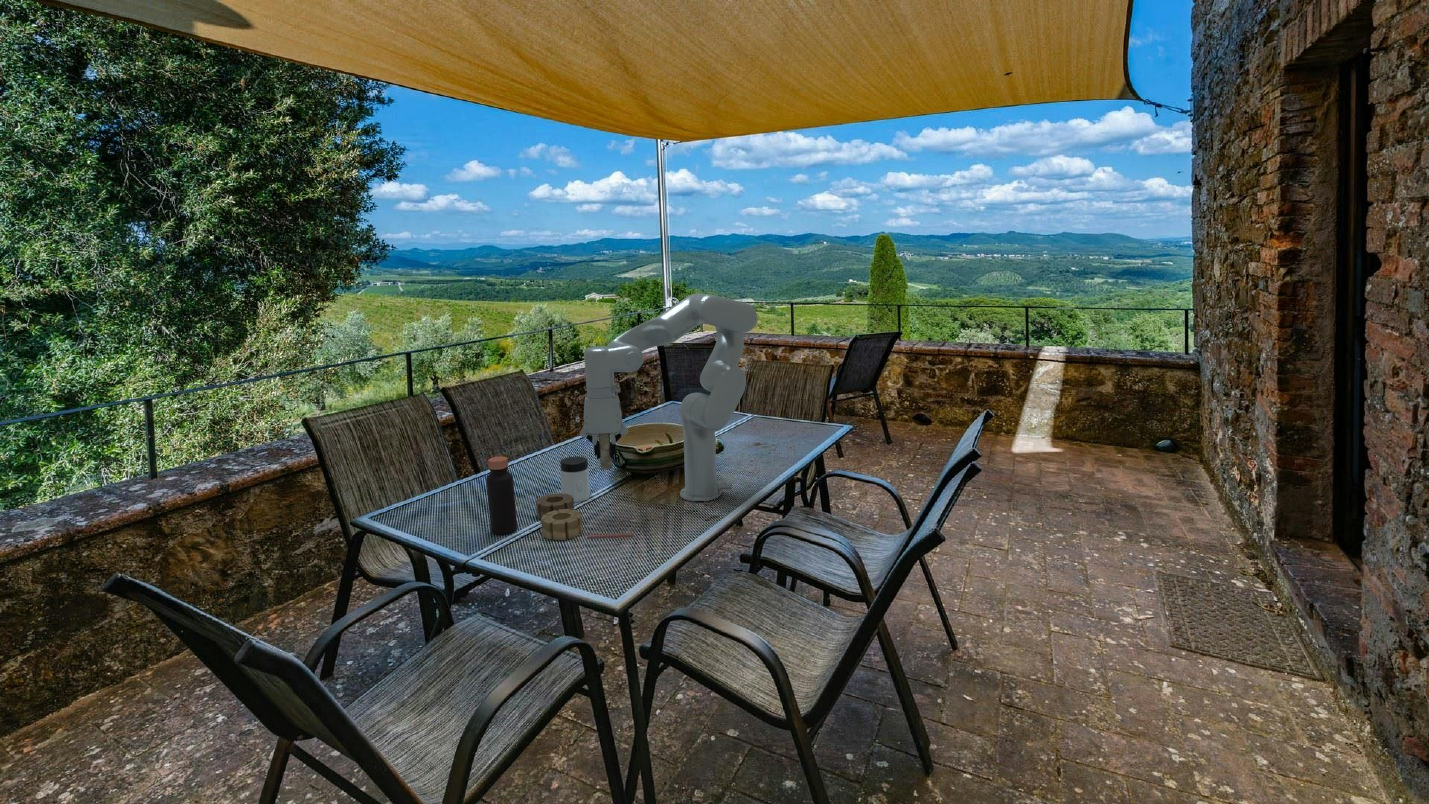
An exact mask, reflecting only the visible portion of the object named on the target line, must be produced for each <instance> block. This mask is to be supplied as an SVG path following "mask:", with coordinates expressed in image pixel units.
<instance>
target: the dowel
mask: <svg viewBox="0 0 1429 804" xmlns="http://www.w3.org/2000/svg"><path fill="white" fill-rule="evenodd" d="M598 441H599V451H600V459H599V462H600V469H601V470H604V471H606V470H612V469H613V458H611V454H610V444H611V437H610V434H598Z"/></svg>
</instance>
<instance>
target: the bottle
mask: <svg viewBox="0 0 1429 804" xmlns="http://www.w3.org/2000/svg"><path fill="white" fill-rule="evenodd" d="M487 463H488V470H489V471H490V473H489V474H488V476H486V478H485V483H486V492H487V503H488V514H489V524H490V532H491V533H492V534H493V533H494V534H493V535H496V534H497V536H503V535H502V534H504V535H508V533H509V534H512V533H514V532H515V531H516V530H517V529H518V520H517V518H518V517H517V509H516V508H517V507H516V499H515V498H516V497H515V487H514V485H515V484H514V476H513V474H512V473H511V472H510V471H508V469H509V459H508V457H507V456H494V457H490V458H488V459H487Z"/></svg>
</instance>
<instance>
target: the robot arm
mask: <svg viewBox="0 0 1429 804" xmlns="http://www.w3.org/2000/svg"><path fill="white" fill-rule="evenodd" d="M757 323H758V312H757V311H756V309H755V308H754V306H752V305H751V304H749V303H746V302H742V301H739V300H734V299H730V298H726V297H723V296H719V295H716V294H711V293H692V294H690V295H688V296H686V297H685V298H683V299H682V300H680V301H678V302H677V303H676V304H674V305H672V306H671V307H670V308H668V309H666V310H664V312H662V313H660V314H659V315H658V316H655V317H654V318H652V319H649V320H647V321H645V322H643V323H641V324H639V325H637V326H634V327H632V328H630V329H629V330H625V332H623V333H622V334H620V335H619V336H617V337H616V338H615V339H612V341H610V342H609V343H608V344H607V345H606V346H603V345H601V346H589V347H588V348H586V349H585V350H584V352H583V356H584V357H583V360H584V372H585V386H586V397H585V398H584V406H583V426H582V428H581V430H580V431H579V436H580V437H582V438H583V439H587V441H589V442H590V443H591V444H592V445H593V452H594V456H596V459H597V460H600V451H599V439H598V434H610V441H611V444H610V454H611V458H612V459H614V457H615V455H617V444H616V443H617V442H618V441H619V440H620V439H621V438H622V437H624V436H625V435H627V434H628V433H629V430H628V427H627V426H626V425H625V423H624V421H623V414H622V408H621V407H622V406H621V402H620V398H619V395H617V394H618V393H621V387H618V386H617V385H616V384H615V383H616V382H615V373H633V372H635V371H637V370H639V369H640V368H642V366H643V364H644V359H645V358H644V357H645V356H644V354H643V352H645V351H646V350H648V349H651V348H657V347H660V346H666V345H670V344H673V343H675V342H676V341H678V340H679V339H680V338H682V337H683V336H685V335H687V334H688V333H689V332H690V331H692V330H694V329H695V328H697V327H698V326H699V325H701V324H702V325H709V326H712V327H714V328H715V332H716V342H715V345H714V347H713V350H712V351H711V354H710V355H709V357H708V359H707V362H706V363H705V366H704V367H703V369H702V370H701V373H700V375H699V383H700V386H702V388H703V389H704V390H706V391H708V392H710V394H705V393H703V392H692V393H689V394H687V395H686V396H685V397H684V398H683V400H682V401H681V404H680V409H679V413H680V414H679V415H680V419H681V425H682V431H683V432H682V433H683V453H684V454H683V456H684V457H683V458H684V460H683V461H684V462H683V463H684V488H682V489H681V490H680V491H679V493H680V495H679V496H680V497H681V498H682V499H684V500H686V501H689V502H695V501H704V502H709V501H710V500H711V501H714V500H716V499H715V498H717V499H719V498H720V497H721V496H722V494H721V493H722V490H733V489H732V487H733V486H732V485H733V484H732V482H727V481H719V480H718V477H717V451H716V446H717V445H716V444H717V443H716V433H715V432H717V431H721V430H722V429H723V428H725V427H726V426H727V425H728V423H729V422H730V420H731V418H732V416H733V414H734V412H735V410H736V408H737V406H738V404H739V402H740V401H741V398H743V397H742V396H743V394H744V393H745V389H746V385H747V377H746V373H745V371H744V370H743V369H742V367H740V366H738V364H739V362H740V360H741V357H742V355H743V353H744V349H745V348H744V346H745V342H744V337H743V334H745V333H748V332H750V331H752V330H754V328H755V327H756V325H757ZM720 495H721V496H720ZM719 496H720V497H719ZM718 497H719V498H718ZM713 499H714V500H713ZM711 501H710V502H711Z"/></svg>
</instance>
